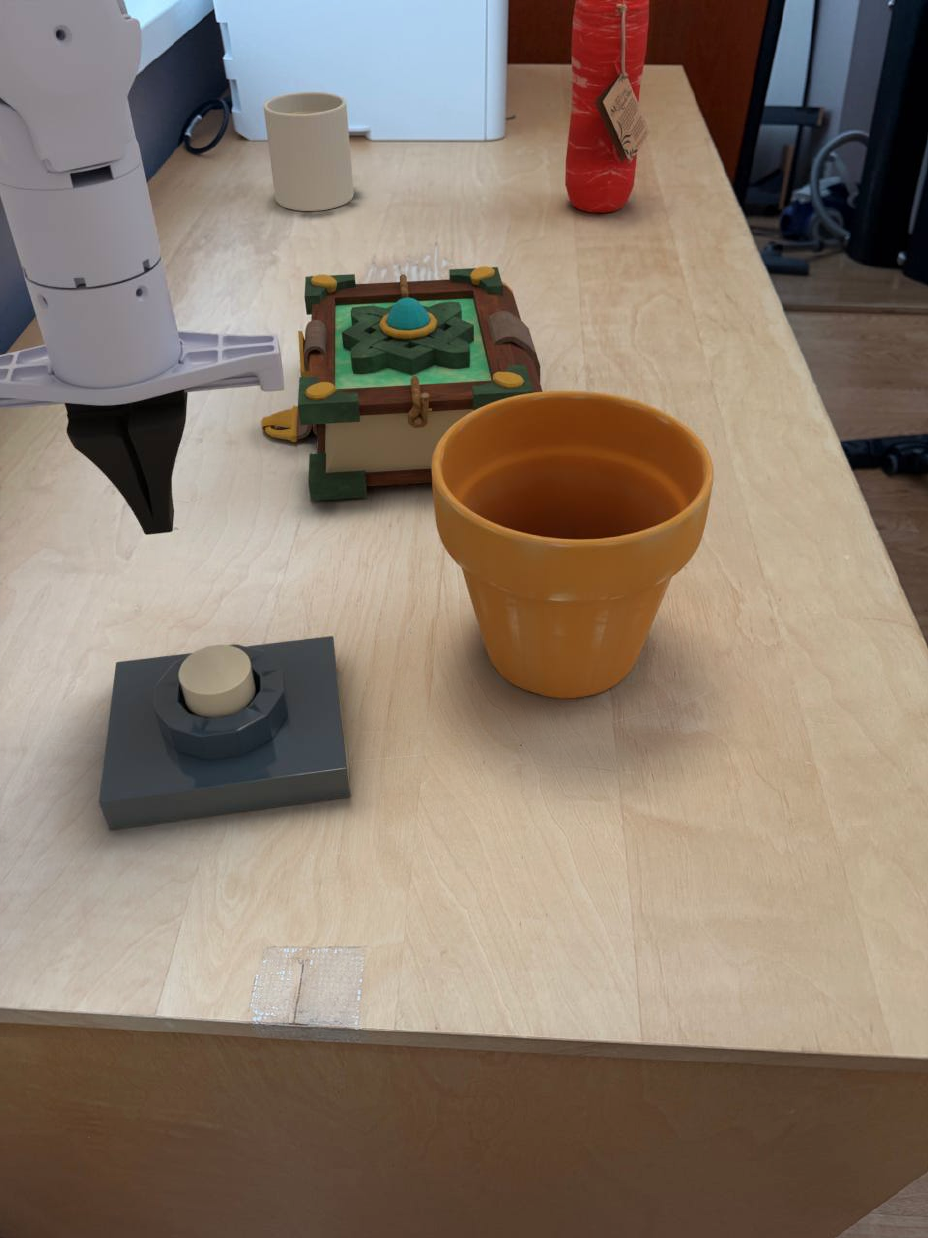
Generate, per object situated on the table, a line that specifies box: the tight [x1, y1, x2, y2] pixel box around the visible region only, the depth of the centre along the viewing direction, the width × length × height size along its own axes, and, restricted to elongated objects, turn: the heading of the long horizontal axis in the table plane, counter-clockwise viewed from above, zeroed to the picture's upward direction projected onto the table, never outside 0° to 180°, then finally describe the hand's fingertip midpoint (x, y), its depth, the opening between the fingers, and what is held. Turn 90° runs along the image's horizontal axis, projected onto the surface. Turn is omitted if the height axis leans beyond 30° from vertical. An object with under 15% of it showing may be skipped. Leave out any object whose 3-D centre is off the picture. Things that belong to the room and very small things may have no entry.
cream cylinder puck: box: [179, 644, 256, 718], centre depth 53 cm, size 4×4×2 cm
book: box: [261, 266, 544, 502], centre depth 79 cm, size 27×21×10 cm
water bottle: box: [564, 0, 651, 214], centre depth 106 cm, size 12×8×25 cm, turn 7°
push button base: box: [98, 635, 352, 831], centre depth 54 cm, size 12×10×4 cm
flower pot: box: [431, 390, 715, 699], centre depth 57 cm, size 14×14×13 cm
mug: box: [263, 91, 355, 212], centre depth 115 cm, size 11×10×10 cm
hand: (159, 522), depth 53 cm, fingers closed
